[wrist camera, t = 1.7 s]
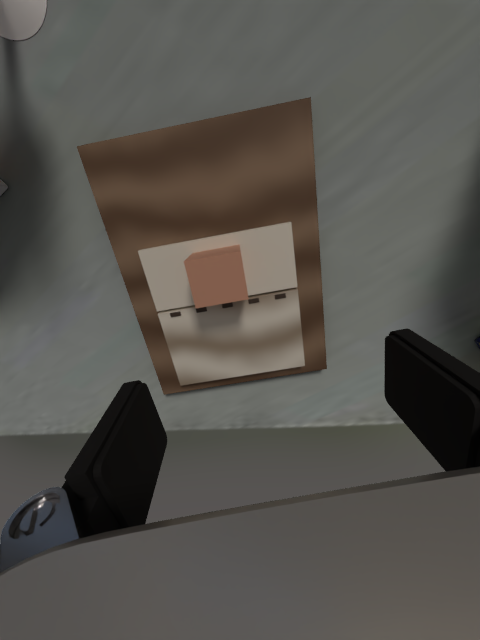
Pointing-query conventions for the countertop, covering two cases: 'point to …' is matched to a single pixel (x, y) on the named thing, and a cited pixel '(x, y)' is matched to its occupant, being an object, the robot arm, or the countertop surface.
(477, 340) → the supplement box
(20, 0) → the champagne flute
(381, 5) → the countertop surface
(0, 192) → the skincare box
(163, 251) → the stub
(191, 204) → the board
